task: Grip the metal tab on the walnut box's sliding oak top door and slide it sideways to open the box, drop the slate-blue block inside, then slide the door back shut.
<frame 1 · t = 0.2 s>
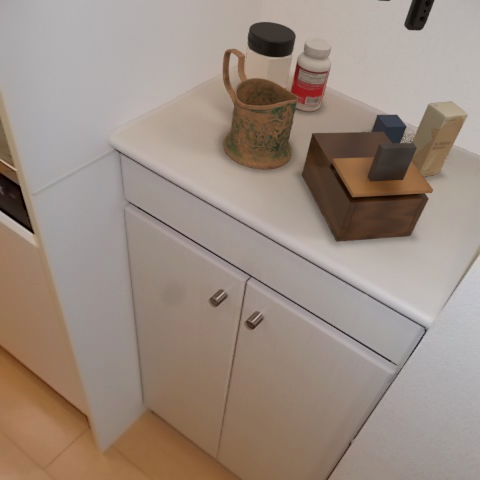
hand: (396, 13, 62), 26 cm above the worktop, tool pointing down, fingers open, 8 cm apart
block: (384, 141, 94), on the worktop
jar: (261, 99, 99), on the worktop
brown green pitcher: (247, 140, 89), on the worktop
walnut box: (353, 204, 81), on the worktop
box: (420, 170, 90), on the worktop
slide door: (387, 159, 70), point 11 cm above the worktop, slide at 0.0 cm
pill bottle: (304, 105, 100), on the worktop
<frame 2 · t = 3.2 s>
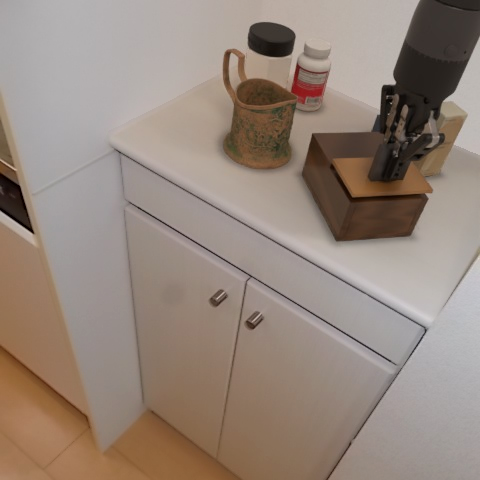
hand: (386, 174, 71), 9 cm above the worktop, tool pointing down, fingers closed
slide door: (387, 160, 70), point 11 cm above the worktop, slide at 0.0 cm, touching gripper
everything else where it was.
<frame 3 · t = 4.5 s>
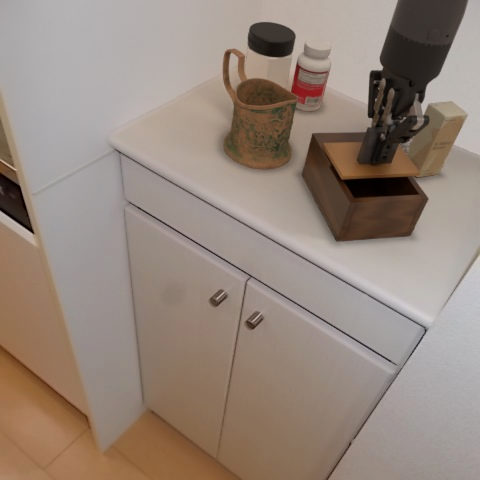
hand: (375, 158, 74), 9 cm above the worktop, tool pointing down, fingers closed
slide door: (376, 143, 73), point 11 cm above the worktop, slide at 3.9 cm, touching gripper
everything else where it was.
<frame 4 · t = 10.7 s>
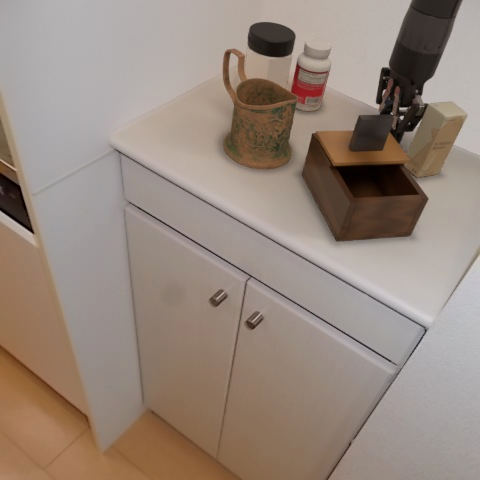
hand: (384, 139, 94), 0 cm above the worktop, tool pointing down, fingers closed on block, 4 cm apart
block: (384, 141, 94), on the worktop, touching gripper
slide door: (367, 131, 75), point 11 cm above the worktop, slide at 7.0 cm
everything else where it was.
when the fingers open (9 cm above the worktop, at t = 17.2 s): block drops 8 cm, point 1 cm above the worktop.
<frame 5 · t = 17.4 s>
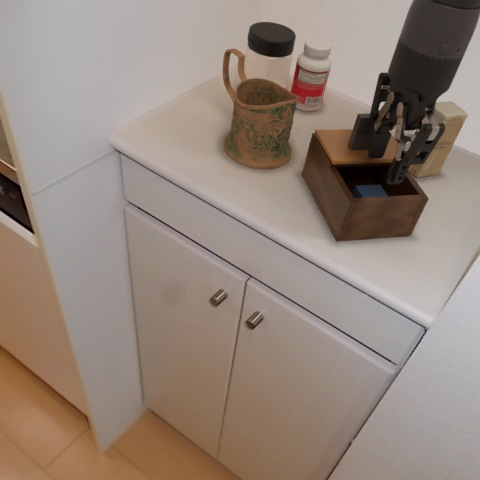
hand: (383, 168, 72), 9 cm above the worktop, tool pointing down, fingers open, 5 cm apart
block: (364, 215, 78), point 1 cm above the worktop
slide door: (366, 130, 75), point 11 cm above the worktop, slide at 7.4 cm, touching gripper
everything else where it was.
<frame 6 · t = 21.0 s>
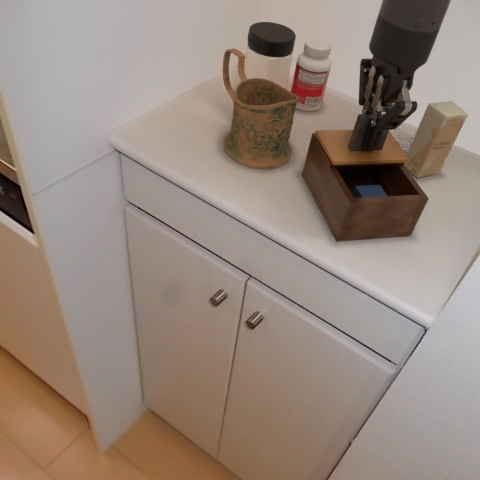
hand: (366, 144, 75), 9 cm above the worktop, tool pointing down, fingers closed
block: (364, 215, 78), point 1 cm above the worktop, touching walnut box
everything else where it was.
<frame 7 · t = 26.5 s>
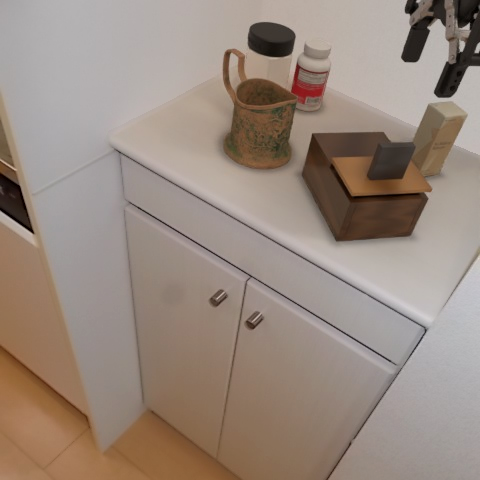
hand: (424, 77, 61), 22 cm above the worktop, tool pointing down, fingers open, 8 cm apart
slide door: (387, 158, 71), point 11 cm above the worktop, slide at 0.2 cm
everything else where it was.
at the end: slide door pulled out 7.6 cm at the most during the clip, back to 0.2 cm at the end; block inside the target area on the walnut box (0.5 cm from its centre), point 0.8 cm above the walnut box's base; slide door slide at 0.2 cm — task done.
